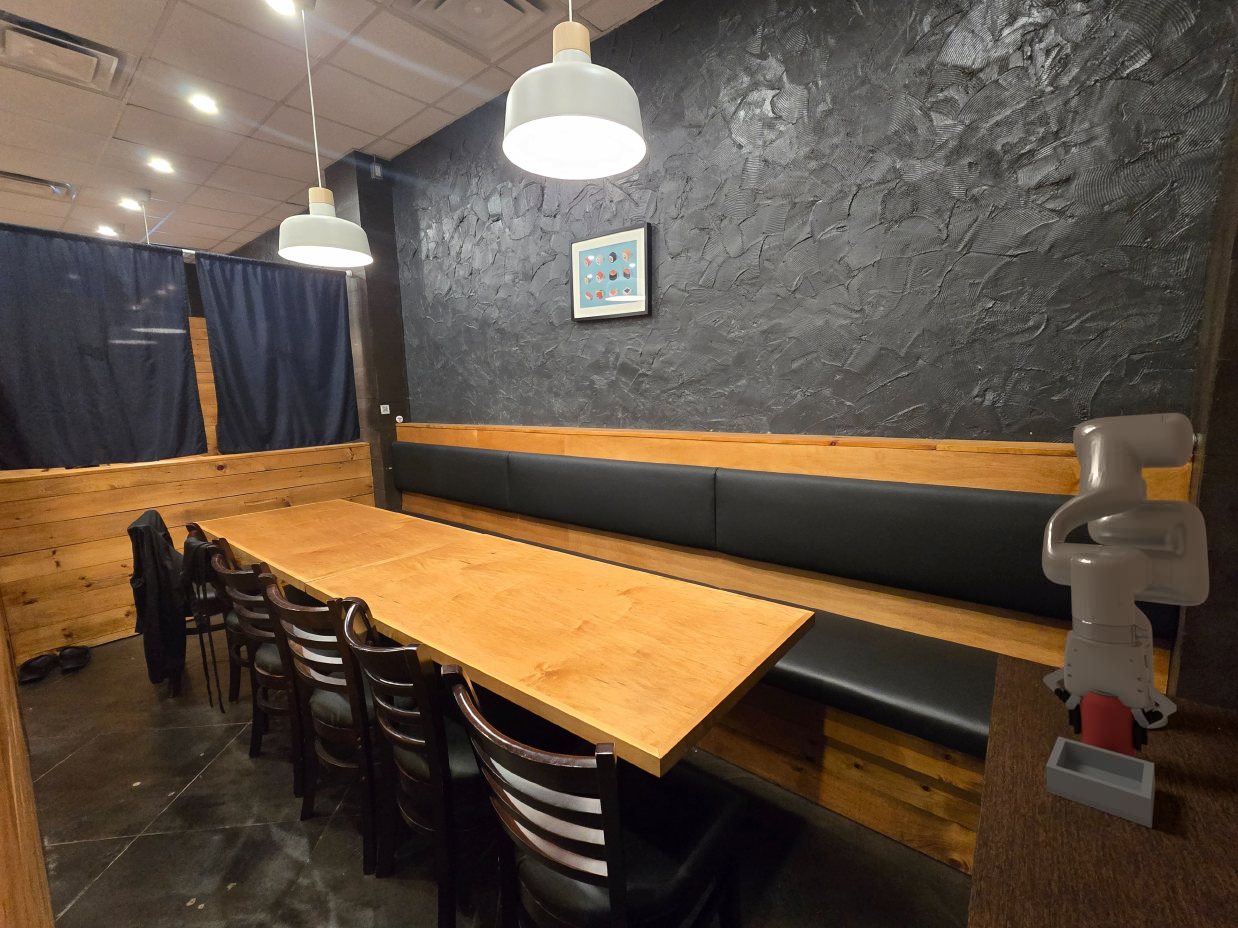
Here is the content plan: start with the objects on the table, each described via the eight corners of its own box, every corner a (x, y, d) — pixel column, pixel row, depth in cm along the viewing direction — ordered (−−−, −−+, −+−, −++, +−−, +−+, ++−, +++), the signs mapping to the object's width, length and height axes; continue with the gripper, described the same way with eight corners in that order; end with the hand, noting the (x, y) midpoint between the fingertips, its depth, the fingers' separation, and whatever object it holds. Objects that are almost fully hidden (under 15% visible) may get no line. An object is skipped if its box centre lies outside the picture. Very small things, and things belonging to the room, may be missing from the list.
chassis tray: (1059, 760, 86) (1058, 736, 86) (1155, 789, 78) (1154, 762, 77) (1047, 791, 78) (1046, 765, 78) (1151, 828, 70) (1150, 798, 70)
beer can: (1148, 774, 81) (1145, 697, 81) (1098, 771, 82) (1096, 696, 82) (1116, 750, 88) (1114, 679, 87) (1071, 747, 89) (1069, 678, 89)
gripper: (1181, 635, 81) (1185, 749, 81) (1039, 614, 94) (1043, 712, 94) (1181, 649, 76) (1185, 771, 76) (1031, 625, 88) (1035, 729, 89)
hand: (1107, 737), depth 85 cm, fingers closed on beer can, 6 cm apart
